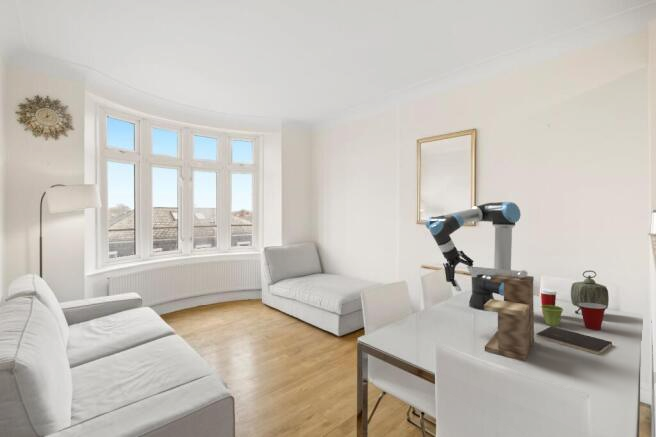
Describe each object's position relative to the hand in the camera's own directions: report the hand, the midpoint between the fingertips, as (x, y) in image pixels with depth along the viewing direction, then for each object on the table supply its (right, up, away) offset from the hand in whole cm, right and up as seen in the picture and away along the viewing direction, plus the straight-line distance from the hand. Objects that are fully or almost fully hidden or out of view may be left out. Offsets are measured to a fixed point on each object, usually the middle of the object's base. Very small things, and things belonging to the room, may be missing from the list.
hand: (467, 283), depth 164 cm
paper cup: (+51, -20, +11) cm, 56 cm away
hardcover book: (+37, -22, -24) cm, 49 cm away
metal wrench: (+6, +8, -20) cm, 22 cm away
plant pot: (+43, -21, -3) cm, 48 cm away
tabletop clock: (+73, -20, +8) cm, 76 cm away
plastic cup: (+58, -20, -10) cm, 63 cm away
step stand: (+7, -22, -27) cm, 36 cm away
